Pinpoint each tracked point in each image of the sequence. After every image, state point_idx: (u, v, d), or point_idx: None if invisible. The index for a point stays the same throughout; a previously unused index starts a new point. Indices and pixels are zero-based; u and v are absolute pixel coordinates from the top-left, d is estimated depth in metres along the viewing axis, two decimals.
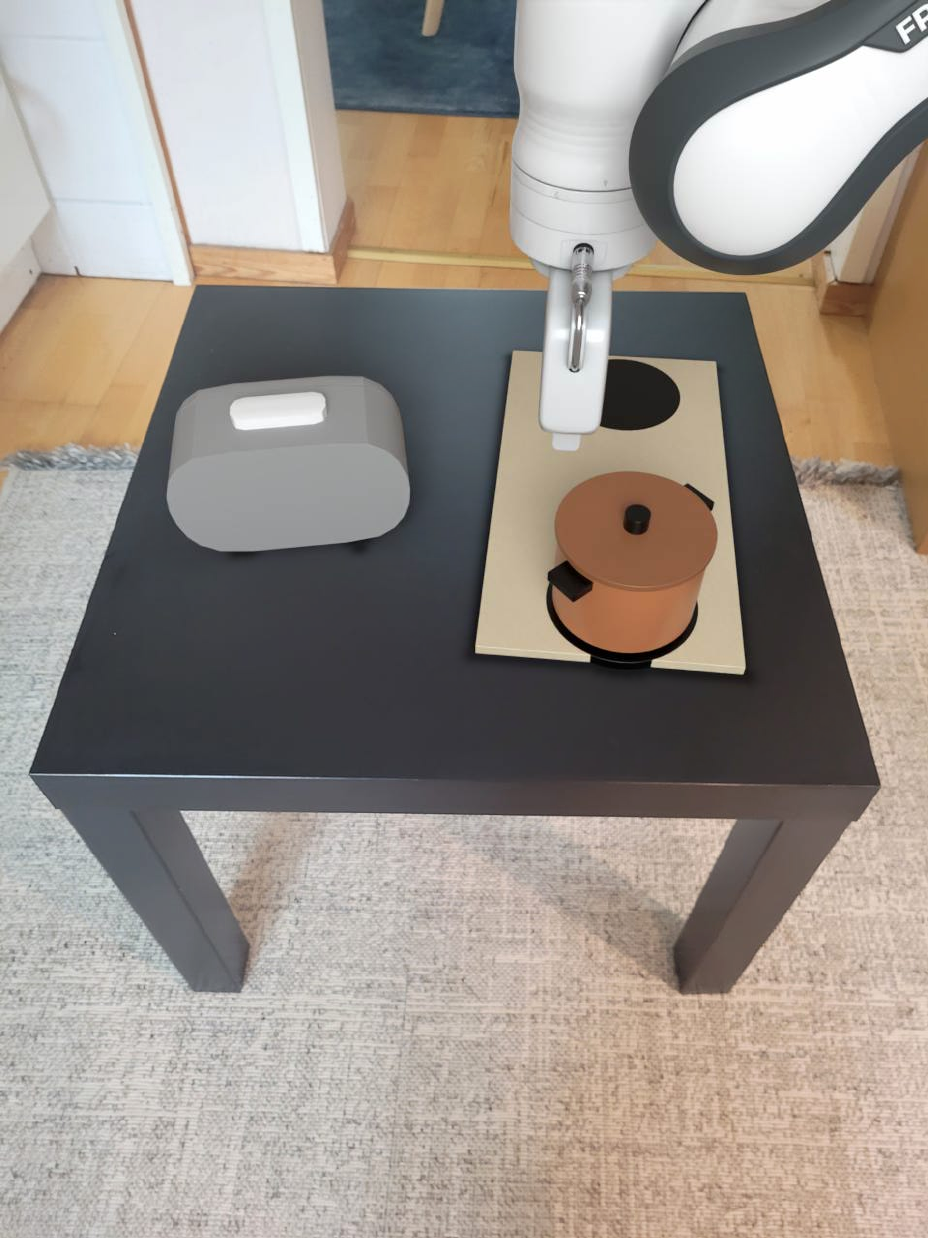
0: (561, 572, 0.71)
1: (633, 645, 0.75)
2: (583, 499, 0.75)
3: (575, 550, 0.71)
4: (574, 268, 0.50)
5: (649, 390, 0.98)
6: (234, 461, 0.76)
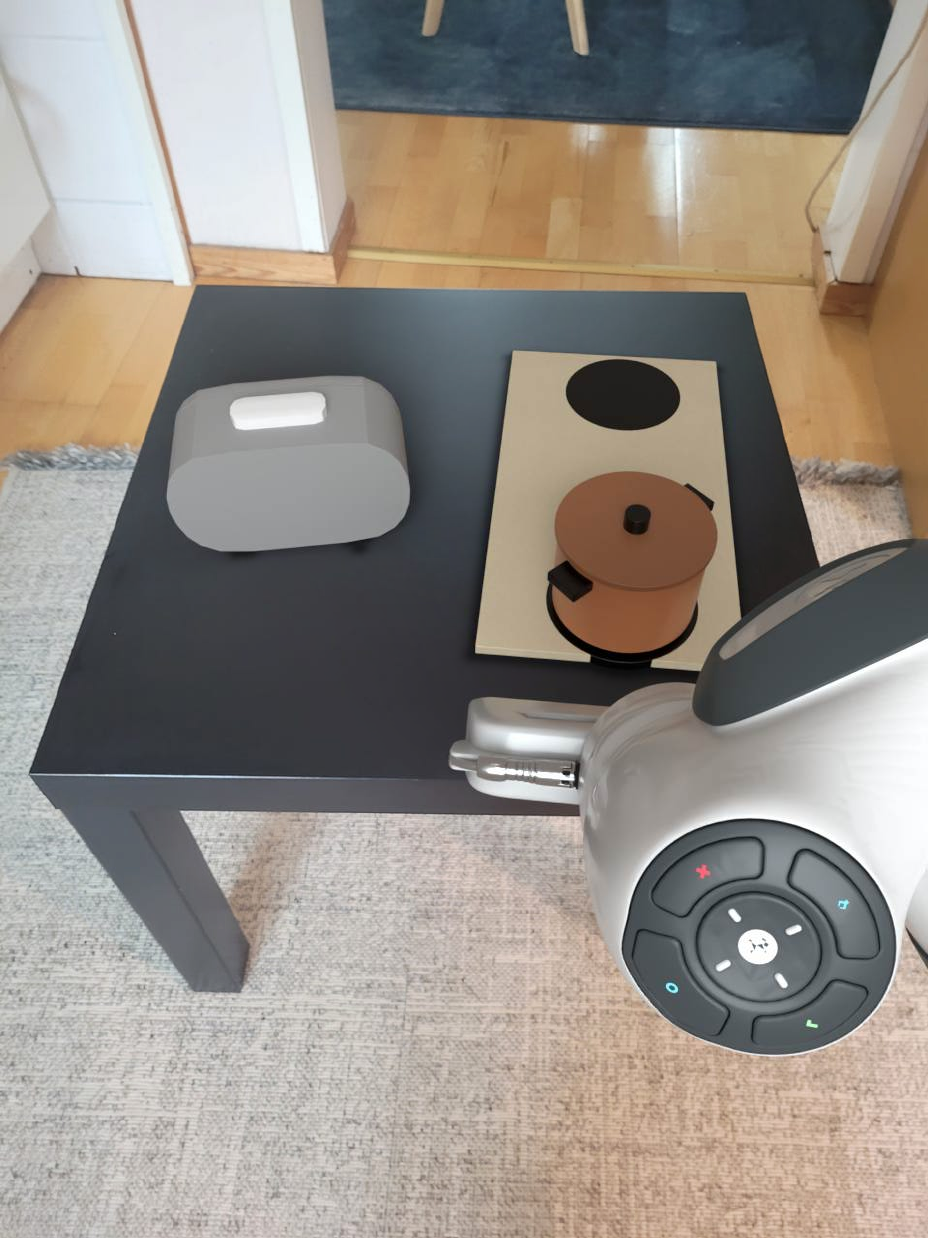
0: (561, 572, 0.71)
1: (633, 645, 0.75)
2: (583, 499, 0.75)
3: (575, 550, 0.71)
4: (534, 763, 0.41)
5: (649, 390, 0.98)
6: (234, 461, 0.76)
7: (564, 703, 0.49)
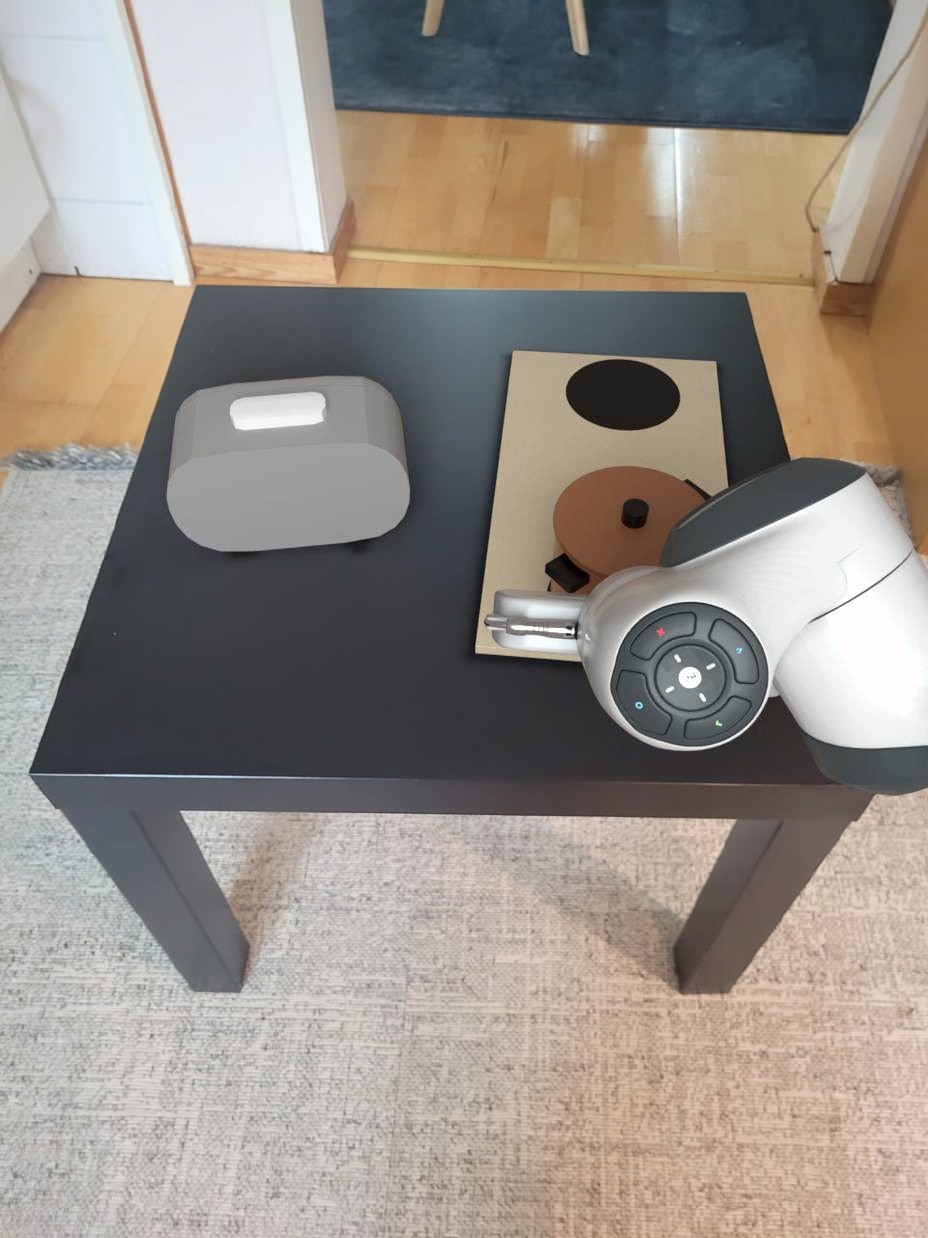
0: (558, 565, 0.72)
1: None
2: (582, 493, 0.75)
3: (573, 543, 0.72)
4: (547, 621, 0.59)
5: (649, 390, 0.98)
6: (234, 462, 0.76)
7: None
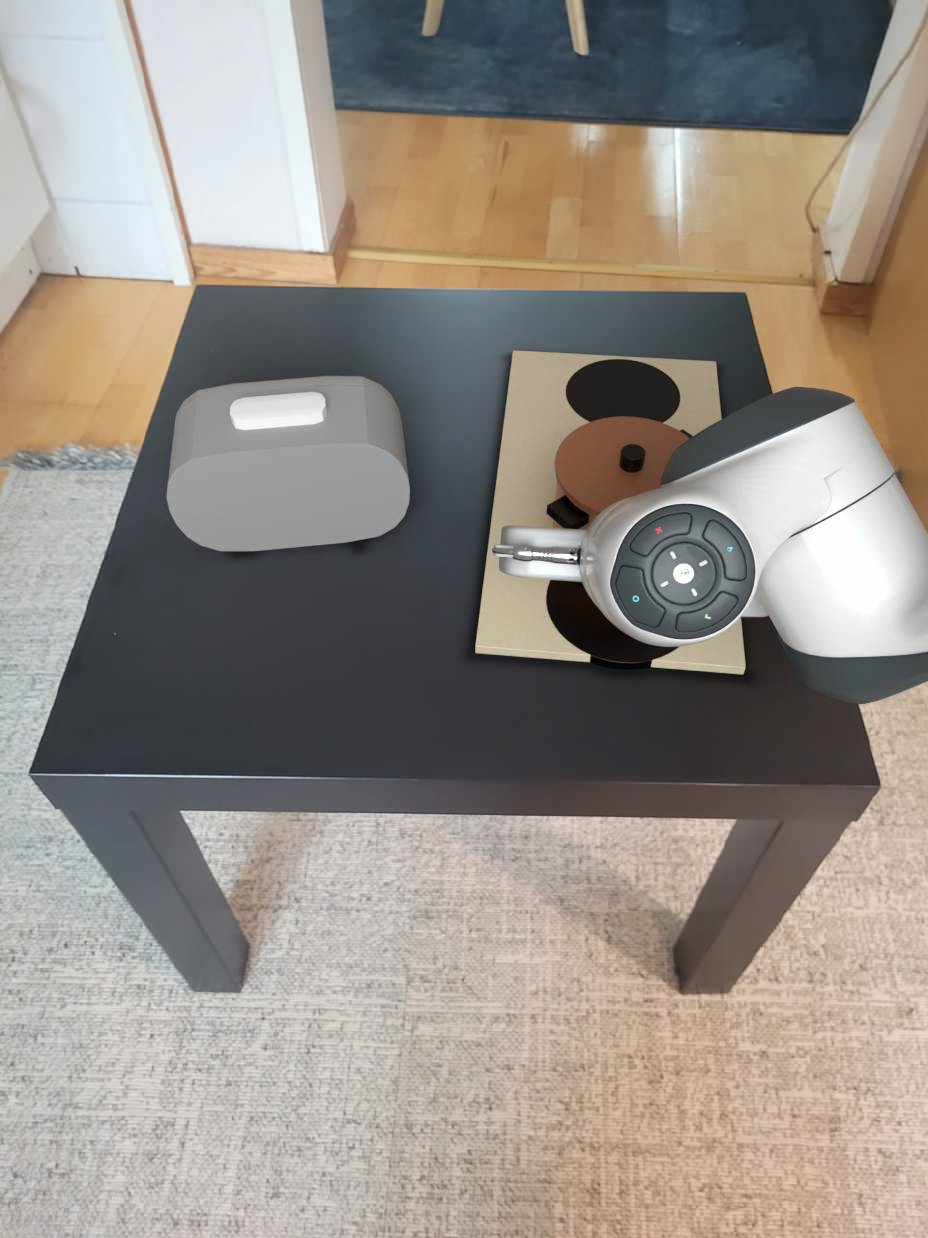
0: (559, 505, 0.76)
1: None
2: (582, 440, 0.79)
3: (573, 485, 0.76)
4: (551, 548, 0.63)
5: (649, 390, 0.98)
6: (234, 462, 0.76)
7: None
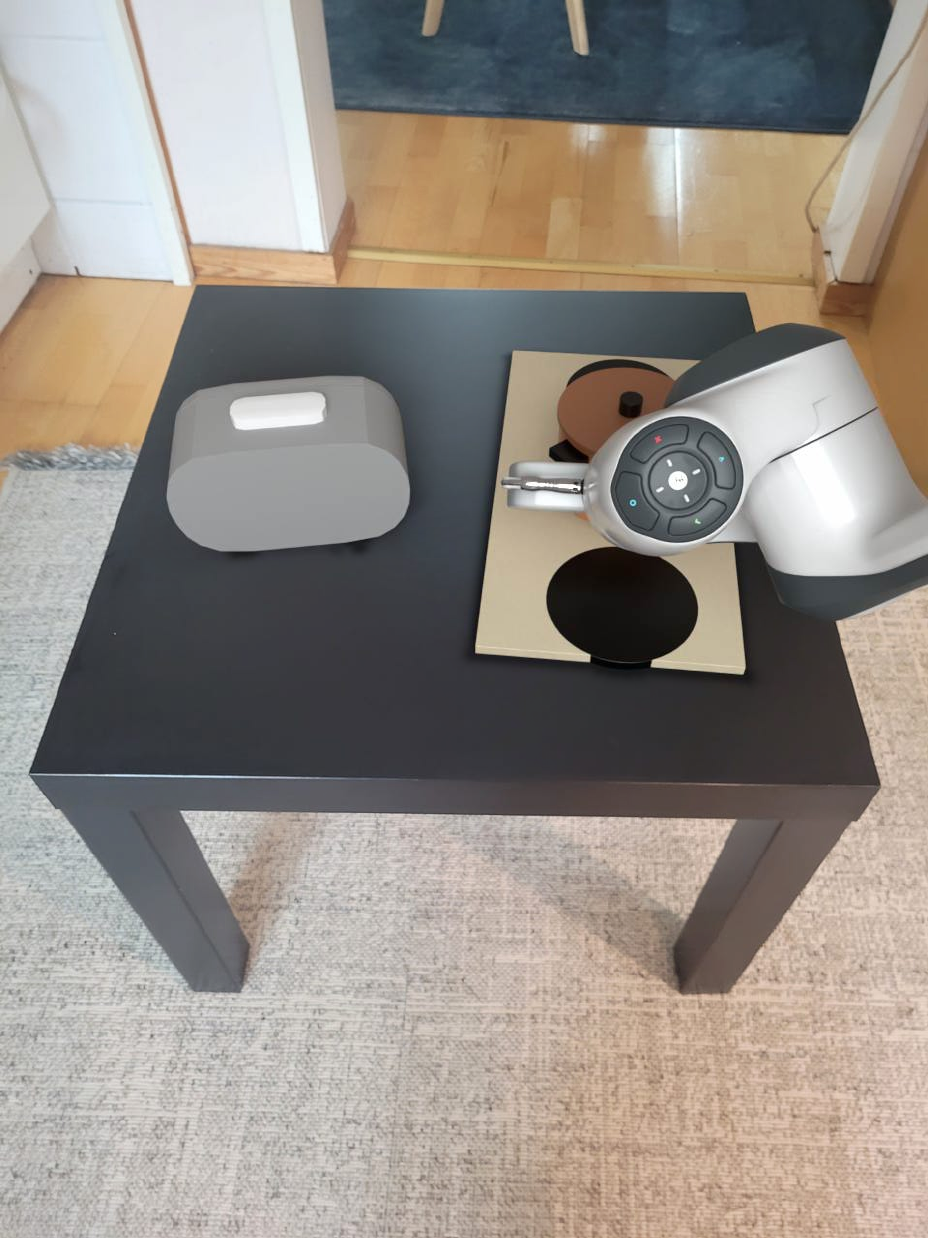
0: (561, 448, 0.80)
1: None
2: (584, 389, 0.84)
3: (574, 429, 0.80)
4: (556, 478, 0.67)
5: None
6: (234, 461, 0.76)
7: None
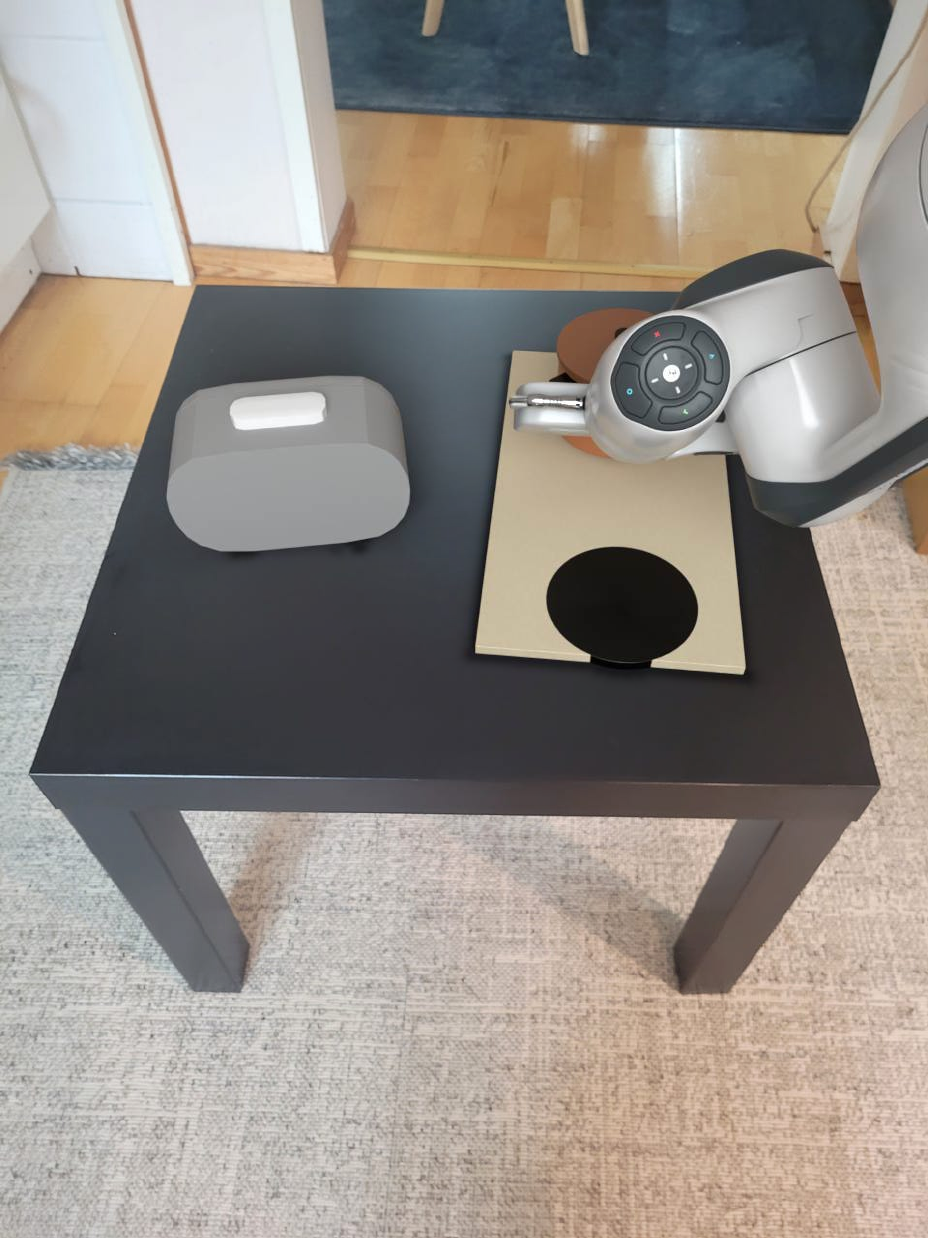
0: (560, 380, 0.86)
1: None
2: (581, 327, 0.90)
3: (572, 362, 0.86)
4: (560, 395, 0.73)
5: None
6: (234, 461, 0.76)
7: None
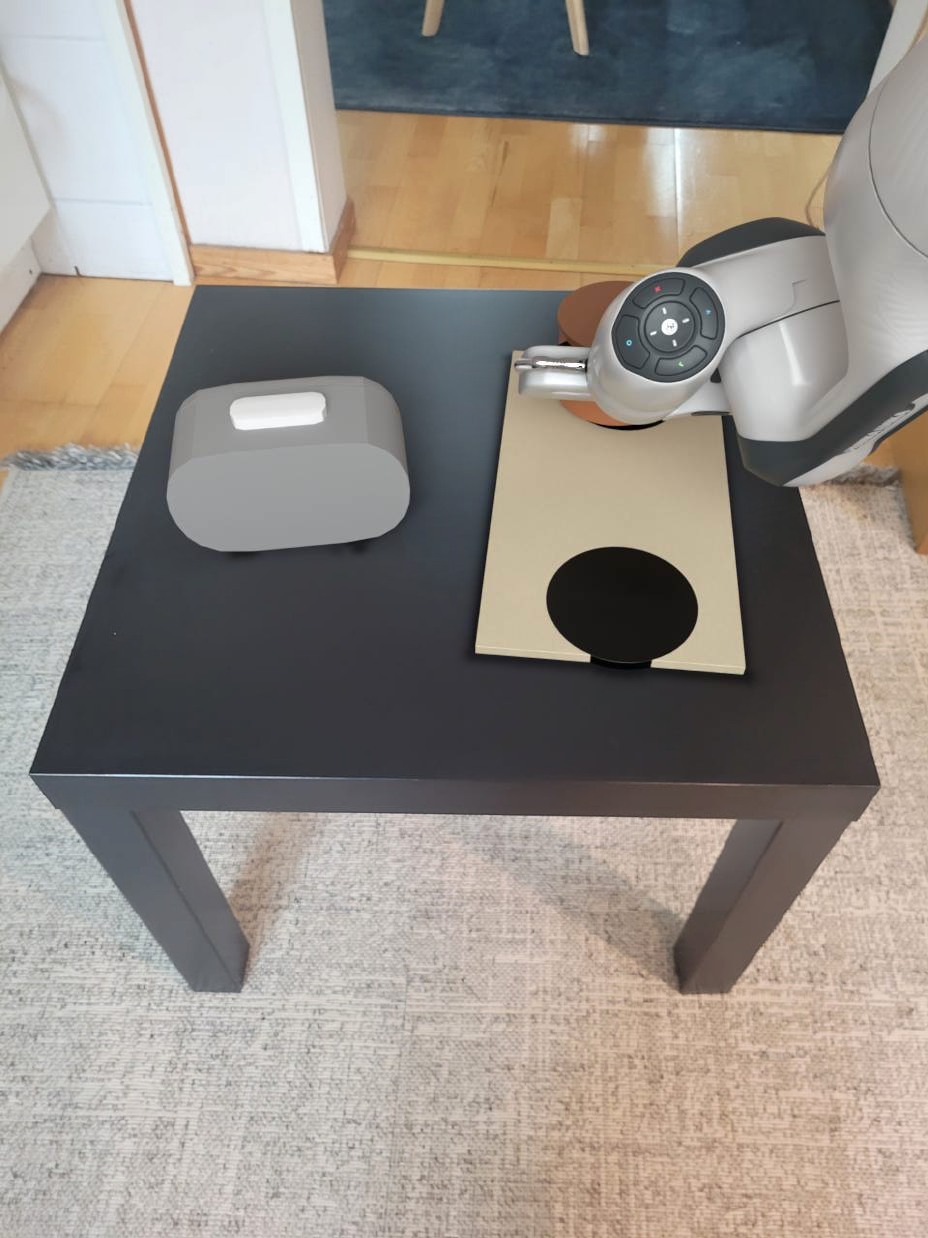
0: None
1: None
2: (581, 298, 0.93)
3: (573, 331, 0.89)
4: (563, 357, 0.76)
5: None
6: (234, 461, 0.76)
7: None
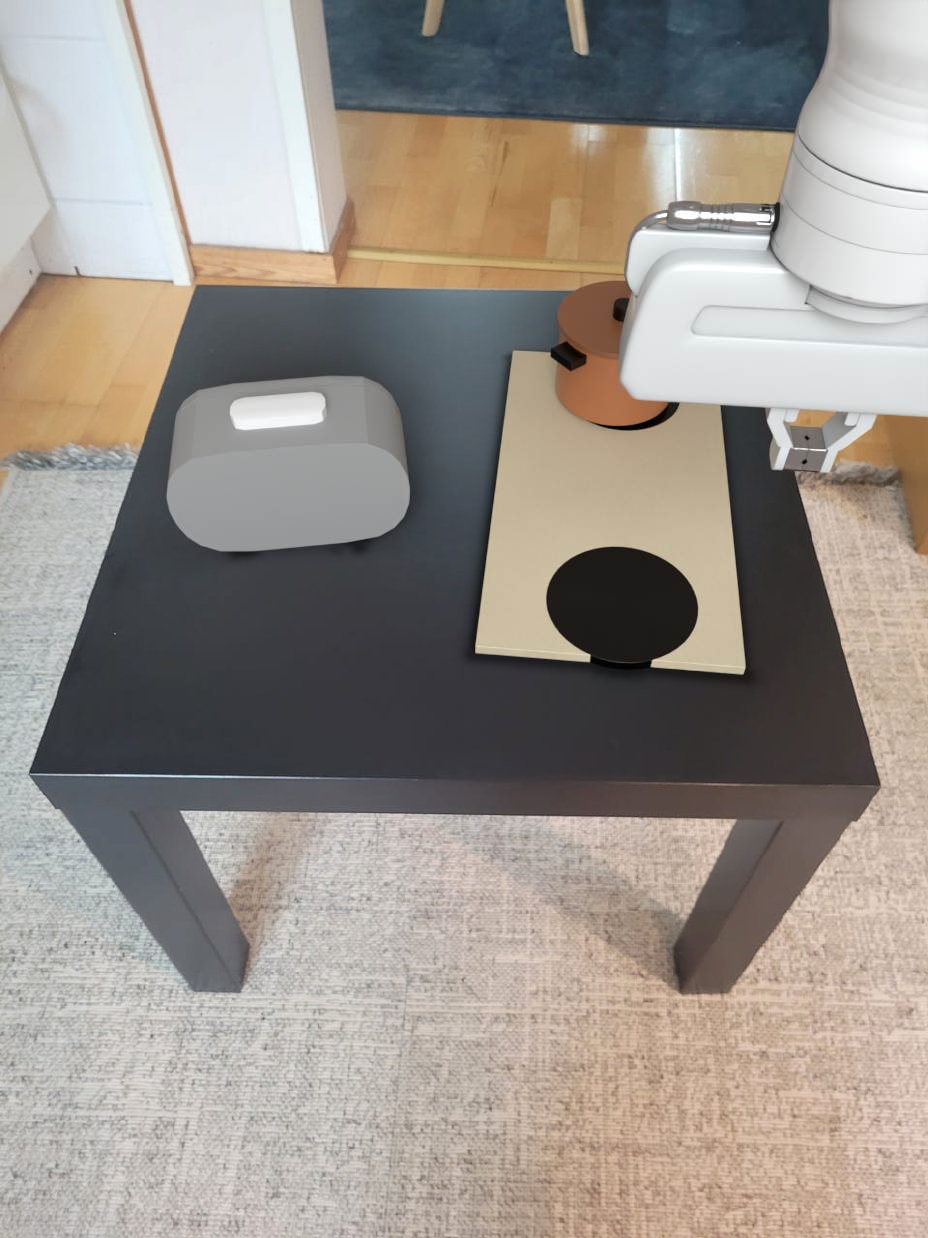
0: (561, 348, 0.89)
1: (619, 417, 0.93)
2: (581, 298, 0.93)
3: (573, 331, 0.89)
4: None
5: None
6: (234, 461, 0.76)
7: None
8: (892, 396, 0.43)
